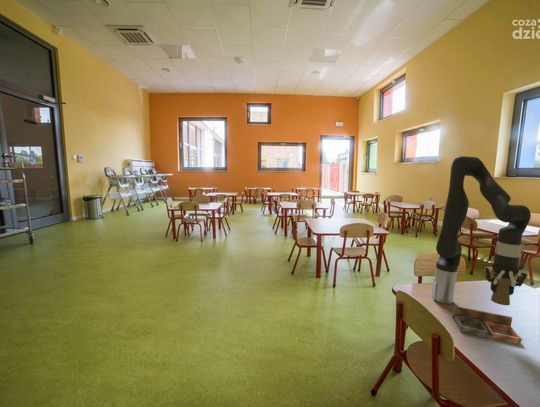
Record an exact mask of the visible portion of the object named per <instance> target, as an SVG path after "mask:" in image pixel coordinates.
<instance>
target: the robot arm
mask: <svg viewBox="0 0 540 407" xmlns="http://www.w3.org/2000/svg"><path fill="white" fill-rule="evenodd" d="M466 177H472V178H474V179H475V180H476V181H477V183H479V184H478V185H479V190H480V193H481V196H483V198H484V199H485V200H486V201H487V202H488V203H489V204H490V206H491V209H492V211H493V213H494V216H495V217H496V218H497V219H498V220H499V221H501V222H503V223H508V225H506V226H504V227H501V228H500V229H499V230H498V235H497V236H498V237H497V242H496V244H495V249H494V256H493V258H494V259H493V264H492V265H491V266H486V265H485V266H483V272H484V275H485V276H484V277H485V279H486V281H487V282H489V283H490V290H491V291H492V293H493V292H494V293H496V288H497V280H499V279H500V278H501V277H504V278H509V279H510V280H511V282H512V283H511V285H510V286H509V295H510V296H512V295H513V294H514V293H515V288H516V287H522V285H523V284H524V282H525V280H526V279H527V277H528V273H526V271H523V270H522V271H521V270H519V265H520V257H521V250H522V248H521V244H522V240H523V239H522V237H523V234H524V232H525V231H526V228H527V226H528V224H529V222H530V221H531V218H532V217H531V216H532V214H531V211H530V209H529V207H528V206H526V205H522V204H509V203H510V202H511V199H512V198H511V196H510V195H509V193H508V192H506V190H505V189H504V188H503V187H501V185H499V184H498V183H497V181H496V180H495V179H494V177H493V176H492V175H491V173H490V171H489V170H488V169H487V167H486V166H485V164H484V162H483V161H482V159H480V158H478V157H476V156H468V155H467V156H465V155H458V156H456V157H455V158H454V159H453V160H452V163H451V167H450V176H449V187H448V191H447V192H448V193H447V198H446V202H445V206H444V207H445V208H444V213H443V217H442V225H441V229H440V233H439V236H438V240H437V241H436V246H435V250H436V252H437V254H438V256H439V258H438V260H437V261H436V263H435V264H436V266H435V273H434V279H433V281H432V287H431V297H432V300H433V301H434V302H435V301H436V302H439V303H441V304H445V305H446V304H447V305H451V304H453V303H454V295H455V288H456V282H457V274H458V268H459V266H460V264H461V263H460V262H461V257H462V252H463V251H462V250H463V249H462V248H463V246H462V244H461V242H460V241H458V234H459V231H460V230H461V228H462V226H463V224H464V222H465V220H466V218H467V214H468V211H469V205H470V204H469V203H470V202H469V199H468V195H467V193H466V191H465V187H464V183H465V178H466ZM492 271H493V272H494V273H493V275H491V272H492ZM516 275H517V278H516V280H515V277H514V276H516Z"/></svg>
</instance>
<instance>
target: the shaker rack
mask: <svg viewBox="0 0 540 407" xmlns="http://www.w3.org/2000/svg"><path fill="white" fill-rule="evenodd" d="M451 318H452V320H454V322H455V324H456V327H458V330H459V332H460V333H464V334H468V335H473V336H476V337H477V336H478V337H482V338H483V337H484V338H487V339H489V338H490V339H492V340H497V341H501V342H506V343H510V344H515V345H519V346H520V345H521V342H522V338H521V337H520V336H519V335H518V333H517V332H516V331H515V330H514V328H512V323H513V322H512V321H513V317H512V316H509V315H504V314H500V313H499V314H498V313H494V312H493V313H492V312H488V311H483V310H477V309H472V308H468V307H467V308H466V307H461V306H456V305H454V306H453V311H452V317H451ZM463 323H464V324H469V325H473V326H478V328H475V327H470V326H465V325H463ZM492 329H493V330H497V331H498V330H499V331H503V332H507V333H508V334H509V335H507V334H503V333H499V332H495V331H493V330H492Z"/></svg>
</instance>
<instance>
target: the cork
mask: <svg viewBox="0 0 540 407" xmlns="http://www.w3.org/2000/svg"><path fill="white" fill-rule="evenodd" d="M511 283H512V282H511V280H510V279H509V278H504V277H501V278H500V279H499V280H497V288H496V293H494V292H492V295H491V298H490V301H491V302H493V303H495V304H498V305H502V306H510V304H511V299H510V297H511V295H509V286H510V285H511Z"/></svg>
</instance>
